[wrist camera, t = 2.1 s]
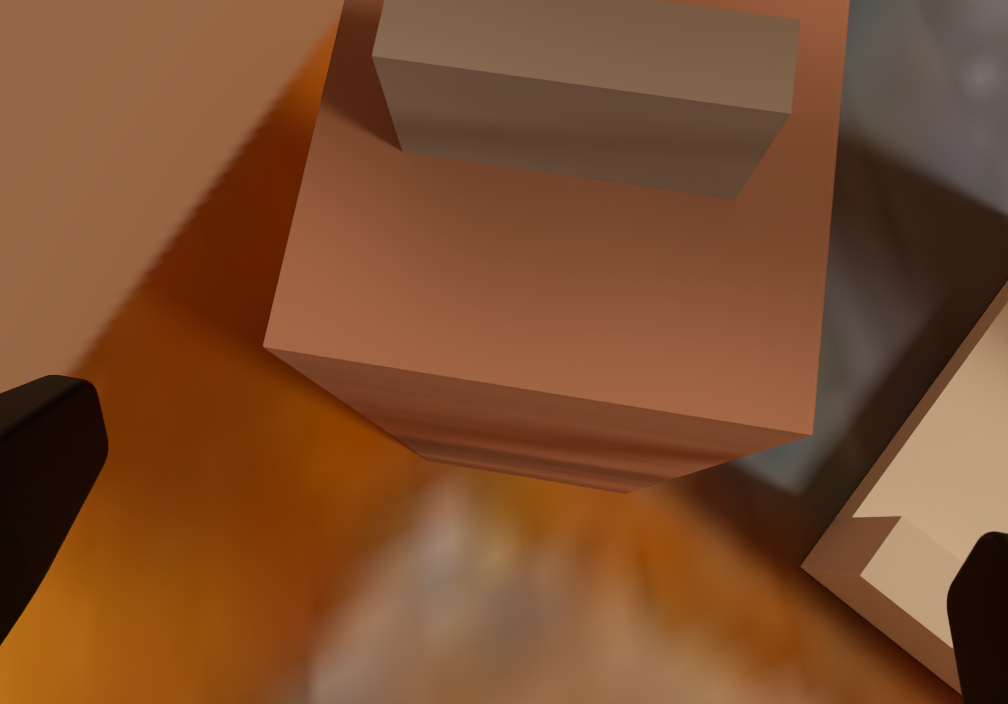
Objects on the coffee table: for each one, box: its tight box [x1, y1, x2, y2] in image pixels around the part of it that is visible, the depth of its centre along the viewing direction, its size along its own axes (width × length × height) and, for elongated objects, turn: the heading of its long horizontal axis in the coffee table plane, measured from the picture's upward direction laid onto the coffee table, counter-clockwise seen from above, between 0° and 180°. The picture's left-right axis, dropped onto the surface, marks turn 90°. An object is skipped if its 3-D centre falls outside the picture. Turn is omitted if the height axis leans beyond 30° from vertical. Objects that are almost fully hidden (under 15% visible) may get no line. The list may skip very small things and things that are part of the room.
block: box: [263, 0, 850, 494], centre depth 13 cm, size 5×5×15 cm
